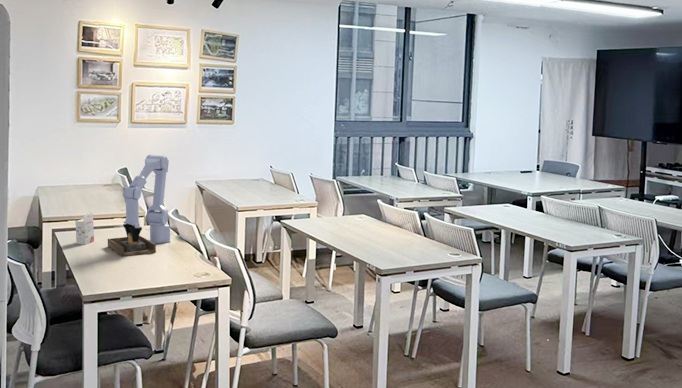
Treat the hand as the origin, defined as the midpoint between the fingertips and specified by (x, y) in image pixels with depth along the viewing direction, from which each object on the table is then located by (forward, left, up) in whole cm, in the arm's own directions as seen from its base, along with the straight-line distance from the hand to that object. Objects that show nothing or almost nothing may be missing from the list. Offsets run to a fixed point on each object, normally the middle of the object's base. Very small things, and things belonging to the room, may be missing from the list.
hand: (132, 240), depth 328 cm
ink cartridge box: (+15, -27, -5) cm, 31 cm away
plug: (0, 0, -5) cm, 5 cm away
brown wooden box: (0, -2, -5) cm, 5 cm away
